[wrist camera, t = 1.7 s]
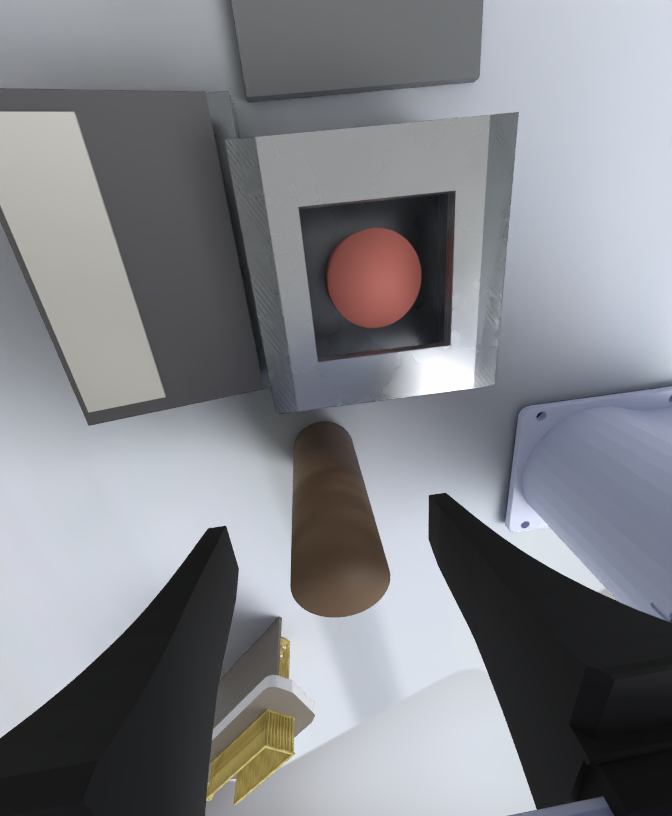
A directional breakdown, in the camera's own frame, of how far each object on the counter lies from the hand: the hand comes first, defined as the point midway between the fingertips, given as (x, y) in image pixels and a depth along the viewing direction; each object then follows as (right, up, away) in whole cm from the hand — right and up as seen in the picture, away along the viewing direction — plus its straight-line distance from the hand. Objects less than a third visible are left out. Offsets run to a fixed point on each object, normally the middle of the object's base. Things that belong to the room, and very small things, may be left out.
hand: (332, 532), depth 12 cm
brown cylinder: (-1, +2, +5) cm, 6 cm away
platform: (-5, -12, +12) cm, 18 cm away
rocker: (-6, +9, -1) cm, 11 cm away
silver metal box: (-2, +10, +2) cm, 11 cm away
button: (+1, +9, +1) cm, 10 cm away
